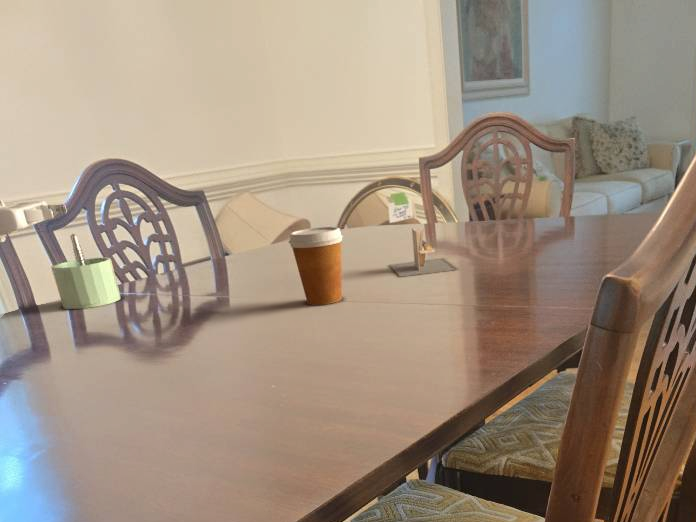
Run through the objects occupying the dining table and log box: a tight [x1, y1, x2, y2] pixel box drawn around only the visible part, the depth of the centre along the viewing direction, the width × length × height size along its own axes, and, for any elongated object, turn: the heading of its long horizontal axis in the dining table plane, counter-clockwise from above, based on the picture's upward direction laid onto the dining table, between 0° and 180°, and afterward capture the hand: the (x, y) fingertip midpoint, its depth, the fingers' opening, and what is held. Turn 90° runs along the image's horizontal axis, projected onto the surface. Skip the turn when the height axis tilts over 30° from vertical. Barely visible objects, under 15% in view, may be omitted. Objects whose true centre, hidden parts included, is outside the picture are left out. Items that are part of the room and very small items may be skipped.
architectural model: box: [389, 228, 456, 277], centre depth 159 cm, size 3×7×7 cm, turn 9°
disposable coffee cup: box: [288, 226, 343, 306], centre depth 137 cm, size 10×10×12 cm
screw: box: [70, 233, 86, 266], centre depth 158 cm, size 13×5×5 cm
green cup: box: [50, 256, 122, 310], centre depth 159 cm, size 12×12×8 cm
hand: (59, 211), depth 152 cm, fingers open, 8 cm apart
